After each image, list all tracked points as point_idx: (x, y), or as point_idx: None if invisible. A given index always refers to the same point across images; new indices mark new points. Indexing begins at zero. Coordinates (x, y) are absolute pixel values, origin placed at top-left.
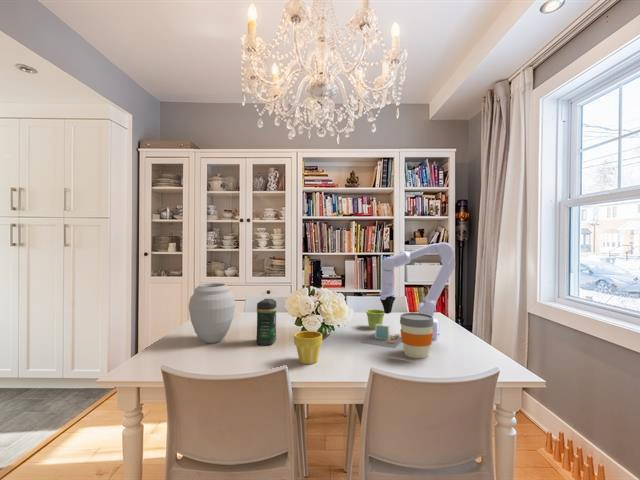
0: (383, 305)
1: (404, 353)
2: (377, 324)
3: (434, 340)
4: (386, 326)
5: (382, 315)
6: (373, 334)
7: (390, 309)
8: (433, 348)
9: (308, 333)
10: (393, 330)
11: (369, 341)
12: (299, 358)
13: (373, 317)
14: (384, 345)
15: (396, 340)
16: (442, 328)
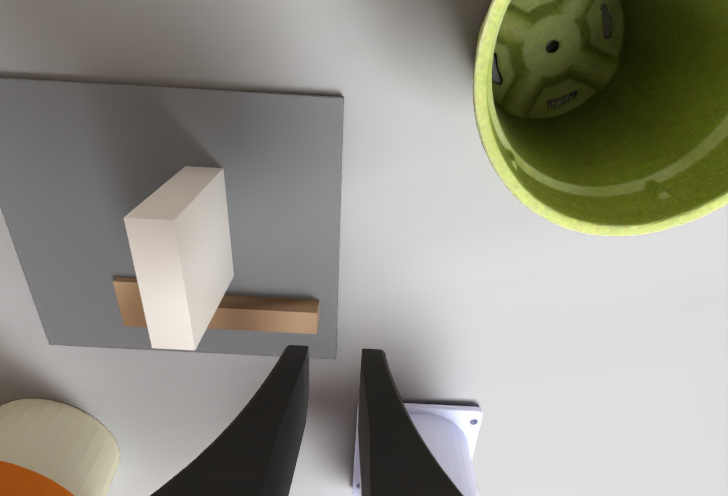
0: (224, 440)
1: (5, 406)
2: (142, 235)
3: (352, 490)
4: (150, 326)
5: (559, 199)
6: (283, 112)
7: (360, 437)
8: None
9: None
10: (537, 233)
11: (50, 149)
12: None
13: (490, 72)
14: (50, 280)
15: None
16: (687, 491)
